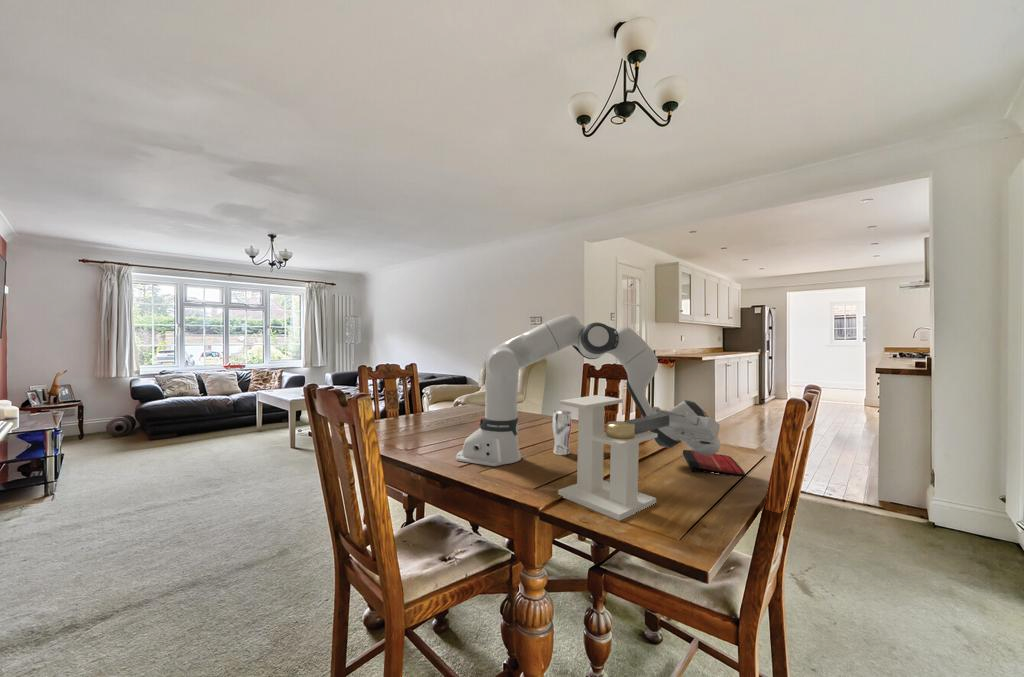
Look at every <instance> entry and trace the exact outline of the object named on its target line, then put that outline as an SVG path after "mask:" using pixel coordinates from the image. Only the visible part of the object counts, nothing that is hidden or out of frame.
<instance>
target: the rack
mask: <svg viewBox="0 0 1024 677" xmlns="http://www.w3.org/2000/svg"><path fill="white" fill-rule="evenodd" d="M558 403H559V405H561V406H562V405H563V406H567V407H571V408H575V409H576V408H577V409H578V411H577V412H578V414H577V416H578V417H577V418H578V419H577V469H576V470H577V472H576V473H577V475H576V479H577V480H576V483H575V484H572V485H569V486H566V487H563V488H560V489H558V490H557V495H558V494H559V495H562V496H563V497H562V498H563V499H566V500H568V501H571V502H573V503H575V504H578V505H580V506H583V507H586V508H588V509H590V510H592V511H595V512H597V513H599V514H602V515H604V516H607V517H609V518H610V519H611V518H612V519H614V520H616V521H618V522H619V521H623V520H624V519H626V518H628V517H631V516H633V515H635V514H637V513H639V512H641V511H640V510H642V511H643V509H644V510H646V509H648V508H650V507H652V506H654V505H656V504H657V497H654V496H651V495H649V494H645V493H642V492H640V491H639V455H640V454H639V453H640V452H639V448H640V447H639V446H640V443H643V442H646V441H650V440H654V439H653V438H657V437H658V433H653V432H650V431H647V432H643V433H639V434H635V438H633V439H614V438H610V437H608V436H606V432H605V407H606V406H611V405H617V404H623V399H622V398H620V397H619V398H618V397H611V396H605V395H598V394H594V395H587V396H582V397H574V398H568V399H560V400H559V402H558ZM605 445H609V446H610V456H609V457H610V458H609V459H610V461H609V462H610V463H609V467H610V468H609V481H607V480H604V457H605V456H604V452H605V451H604V449H605V448H604V446H605ZM655 503H656V504H655ZM653 504H654V505H653ZM651 505H652V506H651ZM649 506H650V507H649ZM647 507H648V508H647ZM645 508H646V509H645ZM638 511H639V512H638ZM636 512H637V513H636Z"/></svg>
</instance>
